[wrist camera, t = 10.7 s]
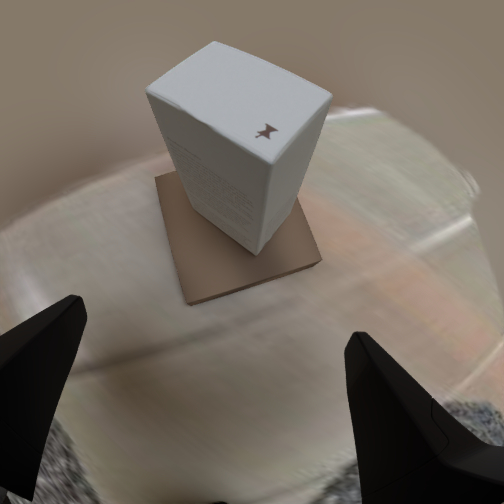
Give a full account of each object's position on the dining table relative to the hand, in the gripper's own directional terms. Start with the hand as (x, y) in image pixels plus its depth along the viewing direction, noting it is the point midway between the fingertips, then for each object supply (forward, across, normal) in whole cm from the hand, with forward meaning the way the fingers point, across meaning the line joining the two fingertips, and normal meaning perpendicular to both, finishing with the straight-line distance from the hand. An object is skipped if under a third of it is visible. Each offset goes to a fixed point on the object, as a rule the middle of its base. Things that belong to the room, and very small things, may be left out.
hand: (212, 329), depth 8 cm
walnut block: (+15, 0, +4) cm, 15 cm away
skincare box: (+13, 0, +1) cm, 13 cm away
